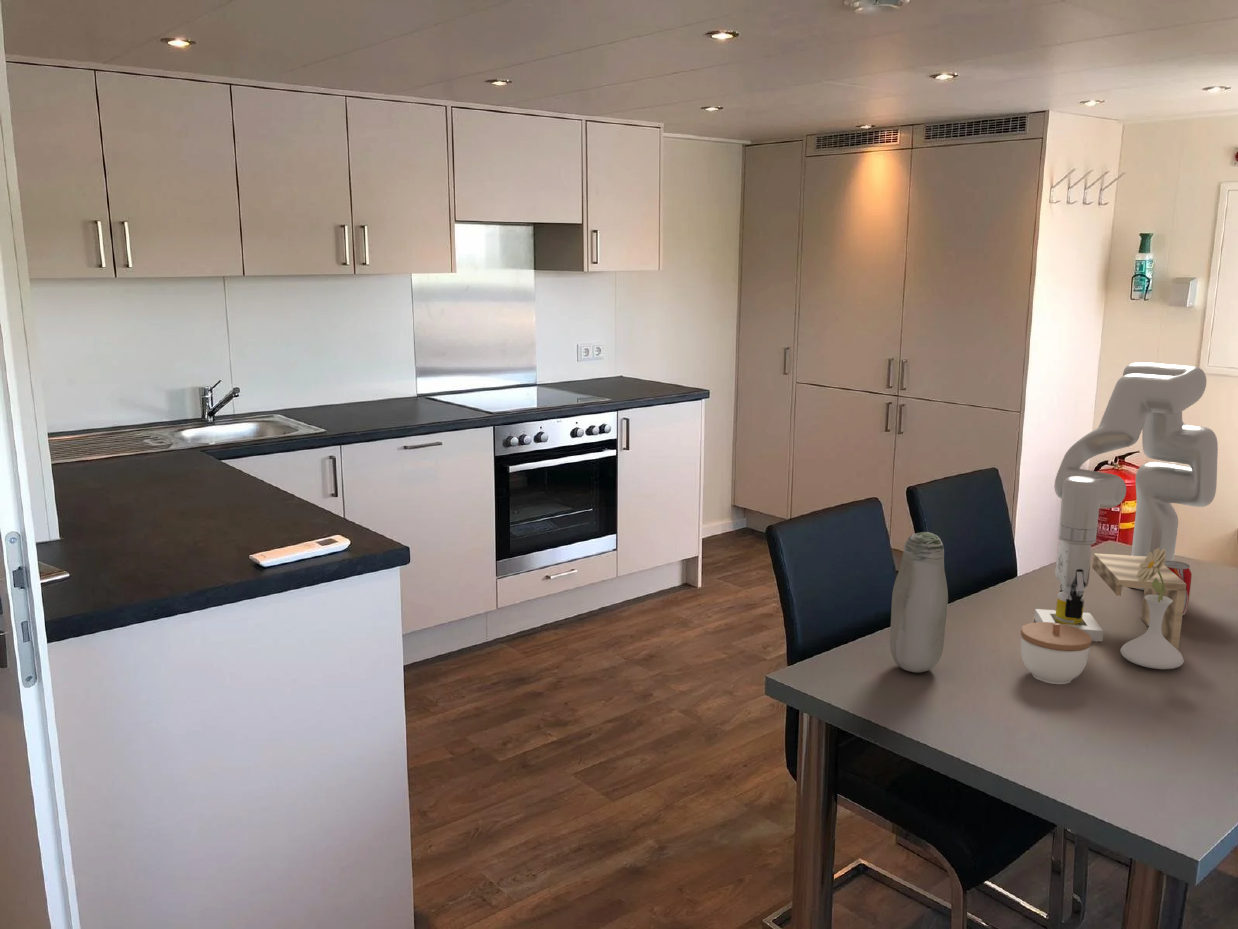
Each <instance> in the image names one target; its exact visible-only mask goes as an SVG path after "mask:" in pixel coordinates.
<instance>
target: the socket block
mask: <svg viewBox="0 0 1238 929" xmlns="http://www.w3.org/2000/svg"><path fill="white" fill-rule="evenodd" d="M1055 615H1056V609H1055V610H1054V609H1043V608H1042V609H1041V608H1035V609H1034V619H1035V620H1034V621H1035V622H1051V623H1055ZM1064 625H1069V626H1072V627H1075V628H1078V629H1080V630H1082V631H1084V632H1086V633H1088V634H1089V635H1090V637H1091V639H1092V641H1091V642H1098V641H1100V643H1101V641H1102V642H1103V637H1104V630H1103V628H1102V627H1101V626H1100V625H1099V624H1098V622H1097V621H1096V620H1095V618H1094V617H1093V615H1092V614H1091V613H1090V612H1084V611H1083V615H1082V623H1081V625H1070V624H1064Z"/></svg>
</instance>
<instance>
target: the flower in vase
mask: <svg viewBox="0 0 1238 929" xmlns="http://www.w3.org/2000/svg"><path fill="white" fill-rule="evenodd" d="M1165 553H1166V551H1164V548H1163V549H1162V550H1161V551H1160V548H1157V549H1155V550H1154V552H1153V555H1152V553H1151V552H1150V553H1148V555H1147V557H1146V558H1145V562H1144V563H1141V564H1140V566H1139V567H1140V568H1142V569H1141V570H1140V571H1138V574H1137V575H1136V577H1140V578H1139V579H1138V581H1141V582H1143V581H1145V582H1146V581H1147V580H1148V579H1149V580H1150V579H1151V578H1152V577H1153V576H1155V575H1156V573H1157V572H1158V574H1159V576H1160V579H1161V582H1162V585H1161V583H1160V582H1159V581H1158V579H1157V578H1155V579H1154V581H1153V582H1152V587H1153V588H1154V589H1155V590H1156V591H1157V592H1158V593H1159V595H1146V596H1145V597H1144V596H1143V598H1145V599H1146V601H1147V603H1148V606H1149V611H1150V621H1149V627H1148V626H1147V627H1148V628H1147V630H1146V631H1145V633H1143V634H1141V635H1139V636H1137V637H1135V638H1133V639H1131V640H1129V641H1127V642H1126V643H1125V644H1123V645H1122V646H1121V648H1120V654H1121V655H1122V657H1123V658H1124V659H1125V660H1127V661H1129V662H1131V663H1133V664H1135V665H1137V666H1140V667H1145V668H1148V669H1154V670H1155V669H1156V670H1172V669H1177V668H1179V667H1180V666H1182V665H1183V664H1184V662H1185V661H1184V657H1183V654H1182V653H1181V652H1180V650H1179V649H1178V650H1177V649H1176V648H1175V647H1174V646H1173V645H1172V644H1170V643H1169V642H1168V641H1167V640H1166V639H1165V638H1164V636H1163V635H1162V630H1161V627H1162V620H1163V616H1164V613H1165V610H1166V609H1167V607H1168V606H1169V605H1170V604H1171V603H1172V602H1173V600H1172V599H1170V598H1168V597H1164V596H1163V593H1164V592H1165V590H1166V588H1164V582H1163V578H1162V576H1161V573H1160V570H1161V567H1162V566H1163V564H1164V562H1165V560H1166V558H1165V557H1166V554H1165Z"/></svg>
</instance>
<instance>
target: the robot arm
mask: <svg viewBox="0 0 1238 929" xmlns="http://www.w3.org/2000/svg"><path fill="white" fill-rule="evenodd" d="M1206 388H1207V376H1206V373H1205V371H1204V370H1203V369H1202V368H1201V367H1198V366H1194V365H1185V364H1170V363H1160V362H1147V361H1145V362H1144V361H1143V362H1142V361H1141V362H1140V361H1138V362H1132V363H1129V364H1127V365H1126V367H1125V368H1124V369H1123V373H1122V376H1121V377H1120V378H1118V380H1117V381H1116V383H1115V385H1114V387H1113V390H1112V393H1111V395H1110V398H1109V400H1108V403H1107V405H1106V408H1105V410H1104V412H1103V415H1102V418H1101V420H1100V423H1099V425H1098V427H1097V428H1095V429H1094V430H1092V431H1090V432H1088V433H1087V434H1085V435H1084V436H1082V437H1081V438H1080V439H1079V440H1077V441H1076V442H1075V443H1073V445H1071V447H1069V449H1068V450H1067V451H1065V452H1066V453H1065V454H1064V456H1063V459H1062V460H1061V463H1060V465H1059V467H1058V470H1057V473H1056V476H1055V479H1054V493H1055V494H1056V496H1057V497H1058V498H1060V499H1061V501H1060V503H1061V504H1060V510H1059V511H1060V513H1059V522H1058V524H1059V525H1058V533H1057V539H1058V540H1059V544H1058V550H1057V556H1056V562H1055V570H1054V575H1055V577H1056V578H1057V580H1058V582H1060V587H1059V588H1060V589H1059V593H1060V592H1062V591H1063V590H1062V585H1063V586H1064V587H1067V586H1068V599H1066V608H1065V616H1066V617H1068V618H1081V613H1082V603H1083V597H1084V593H1085V589H1086V588H1088V586H1089V580H1090V573H1091V572H1090V571H1091V555H1092V553H1091V552H1092V545H1093V544H1095V543H1096V542H1097V532H1098V524H1099V522H1098V521H1099V515H1100V514H1099V511H1100V509H1111V508H1114V507H1117V506H1119V505H1120V504H1121V503H1122V502H1123V501H1124V500H1125V498H1126V494H1127V485H1126V482H1125V481H1124V479H1123V478H1122V477H1120V476H1119V475H1116V474H1113V473H1107V472H1101V471H1100V472H1099V471H1096V470H1095V471H1094V470H1090V469H1083V468H1081V467H1082V466H1083V464H1085V463H1086V462H1087V461H1088V460H1091V459H1092V458H1093V457H1096V456H1099V455H1102V454H1106V453H1108V452H1109V453H1110V452H1113V451H1116V450H1117V451H1118V450H1121V449H1124V448H1125V449H1126V448H1129V447H1131V446H1133V445H1135V444H1136V443H1137V442H1138V440H1139V438H1140V436H1141V434H1142V436H1141V437H1142V439H1141V440H1142V441H1141V442H1142V444H1141V445H1142V450H1143V454H1144V455H1145V456H1146V457H1147V458H1149V459H1151V460H1155V461H1150V462H1146V463H1144V464H1142V465H1141V466H1139V467H1138V469H1137V470H1136V474H1135V492H1136V494H1135V495H1136V505H1135V506H1136V508H1135V520H1134V528H1133V529H1134V530H1133V536H1132V546H1131V554H1130V556H1147V555H1148V553H1150V552H1151V553H1152V555H1153V552H1154V550H1155V549H1157V548H1160V551H1161V550H1162V549H1163V548H1164V551H1166V553H1165V554H1166V557H1165V558H1166V560H1165V561H1175V560H1174V559H1175V553H1176V545H1177V538H1178V528H1179V518H1178V513H1177V512H1176V510H1175V508H1174V507H1173V505H1172V504H1177V505H1184V506H1189V507H1196V508H1197V507H1198V508H1204V507H1207V506H1210V504H1211V503H1212V502H1213V501H1214V499H1215V496H1216V493H1217V485H1218V484H1217V480H1218V479H1217V478H1218V453H1219V452H1218V451H1219V448H1218V447H1219V446H1218V438H1217V435H1216V434H1215V432H1214V431H1213V429H1211V428H1208V427H1207V426H1202V425H1194V424H1186V423H1184V421H1183V412H1184V411H1185V410H1187V409H1189V408H1190V407H1191V406H1193V405H1194V404H1196V403H1197V402H1199V401H1200V399H1201V398H1202V397H1203V395H1204V393H1205V391H1206ZM1072 583H1074V584H1076V586H1071V584H1072ZM1072 589H1076V591H1073V593H1072ZM1135 589H1136V590H1137V589H1138V590H1141V591H1144V589H1145V588H1135Z"/></svg>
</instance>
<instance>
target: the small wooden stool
mask: <svg viewBox="0 0 1238 929" xmlns="http://www.w3.org/2000/svg"><path fill="white" fill-rule="evenodd" d="M1146 557H1147V556H1131V554H1130V555H1126V554H1114V553H1113V554H1111V553H1093V559H1092V566H1091V567H1092V569H1093V570H1094V572H1095V573H1096V574H1097V575H1098V576H1099V578H1101V580H1102V581H1103V582H1104V583H1105V584H1106V585H1107V586H1108V587H1109V588H1110V590H1112V591H1113V593H1114V595H1116V596H1119V597H1121V596H1122V590H1123V588H1134V589H1136V588H1145V589H1144V590H1143V600H1142V605H1141V606H1142V607H1141V616H1140V618H1141V620H1142V619H1143V620H1142V621H1143V622H1144V623H1145V624H1146V626H1147V627H1148V626H1149V621H1150V611H1149V606H1148V603H1147V601H1146V599H1145V598H1144V597H1145V596H1146V595H1159V593H1158V592H1157V591H1156V590H1155V589H1154V588H1153V587H1152V582H1153V581H1154V579H1155V578H1157V579H1158V581H1159V582H1160V583H1161V585H1162V582H1161V579H1160V576H1159V574H1158V572H1157V573H1156V575H1155V576H1153V577H1152V578H1151V579H1150V580H1149V579H1148V580H1147V581H1146V582H1145V581H1143V582H1141V581H1138V579H1139V578H1140V577H1136V575H1137V574H1138V571H1140V570H1141V569H1142V568H1140V567H1139V566H1140V564H1141V563H1144V562H1145V558H1146ZM1160 573H1161V576H1162V578H1163V582H1164V588H1166V590H1165V592H1164V593H1163V596H1164V597H1168V598H1170V599H1172V600H1173V602H1172V603H1171V604H1170V605H1169V606H1168V607H1167V609H1166V610H1165V613H1164V616H1163V620H1162V627H1161V630H1162V635H1163V636H1164V638H1165V639H1166V640H1167V641H1168V642H1169V643H1170V644H1172V645H1173V646H1174V647H1175V648H1176V649H1177V650H1178V651H1179V647H1180V646H1179V645H1180V638H1181V631H1182V622H1183V616H1184V615H1183V608H1184V600H1185V592H1186V583H1185V582H1183V581H1182V580H1181V579H1180V578H1179V577H1178V576H1177V575H1175V574H1174V573H1173V572H1172V571H1171V570H1170V569H1169V568H1167V567H1166V566H1165V565H1164V564H1163V566H1162V567H1161V570H1160Z"/></svg>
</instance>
